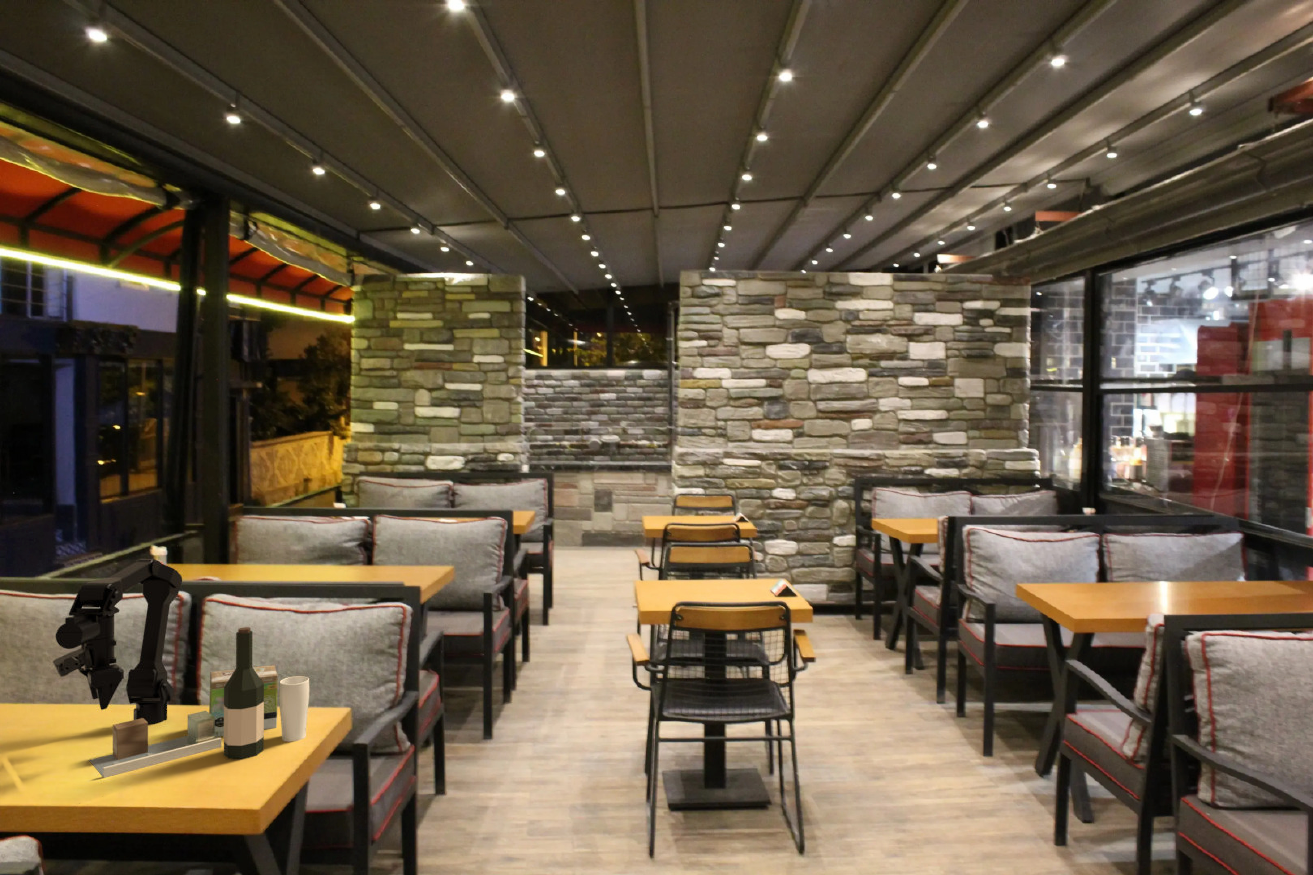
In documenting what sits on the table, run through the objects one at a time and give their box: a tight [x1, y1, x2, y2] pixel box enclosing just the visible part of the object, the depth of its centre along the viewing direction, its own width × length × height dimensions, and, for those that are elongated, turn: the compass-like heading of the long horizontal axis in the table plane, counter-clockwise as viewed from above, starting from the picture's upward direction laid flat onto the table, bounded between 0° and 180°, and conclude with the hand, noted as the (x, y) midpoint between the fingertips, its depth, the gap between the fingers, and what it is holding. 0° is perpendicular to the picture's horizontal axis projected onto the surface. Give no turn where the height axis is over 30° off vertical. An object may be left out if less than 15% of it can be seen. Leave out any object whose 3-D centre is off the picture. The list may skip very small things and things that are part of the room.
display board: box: [88, 735, 222, 779], centre depth 187 cm, size 24×13×3 cm, turn 137°
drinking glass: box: [278, 675, 310, 743], centre depth 198 cm, size 7×7×15 cm
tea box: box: [208, 664, 279, 738], centre depth 204 cm, size 15×10×15 cm, turn 120°
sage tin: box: [187, 710, 216, 745], centre depth 192 cm, size 6×4×7 cm, turn 47°
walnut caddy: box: [112, 718, 149, 760], centre depth 187 cm, size 6×4×7 cm, turn 137°
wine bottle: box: [223, 626, 265, 761], centre depth 188 cm, size 8×8×30 cm
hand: (99, 703), depth 187 cm, fingers open, 9 cm apart
